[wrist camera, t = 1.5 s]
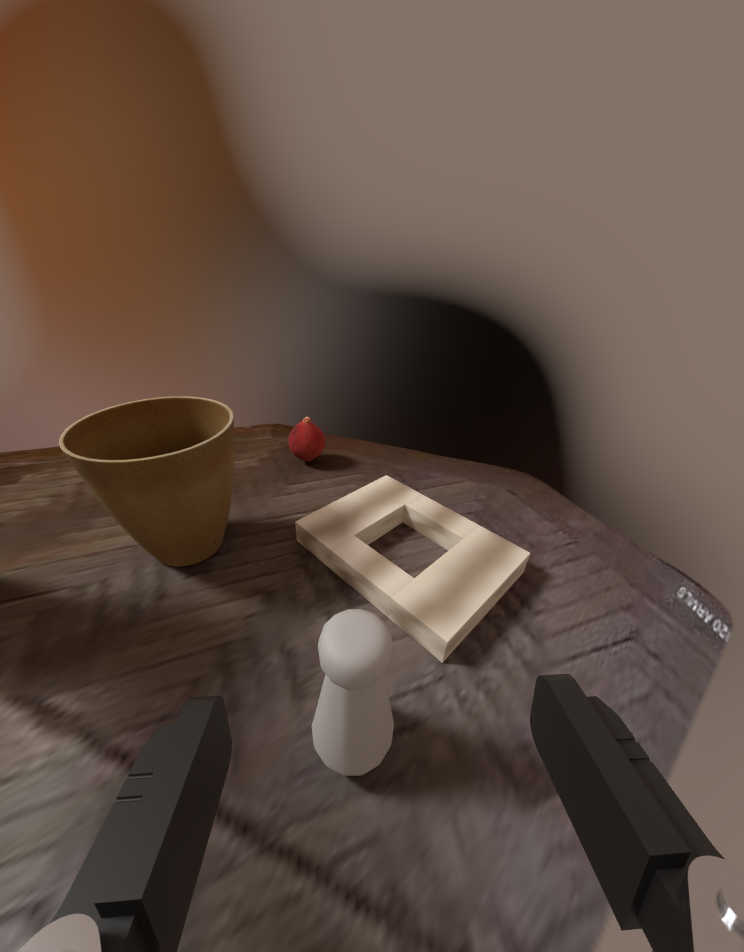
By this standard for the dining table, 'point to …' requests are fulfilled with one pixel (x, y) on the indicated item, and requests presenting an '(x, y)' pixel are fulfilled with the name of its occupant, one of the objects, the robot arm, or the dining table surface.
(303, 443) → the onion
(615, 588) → the dining table surface
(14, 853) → the dining table surface
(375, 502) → the hole board
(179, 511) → the plant pot
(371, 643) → the salt shaker
